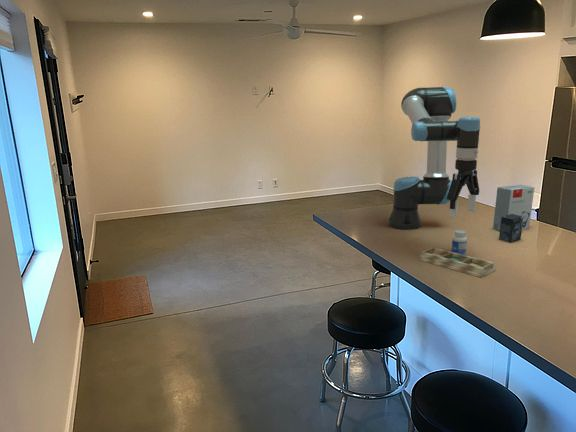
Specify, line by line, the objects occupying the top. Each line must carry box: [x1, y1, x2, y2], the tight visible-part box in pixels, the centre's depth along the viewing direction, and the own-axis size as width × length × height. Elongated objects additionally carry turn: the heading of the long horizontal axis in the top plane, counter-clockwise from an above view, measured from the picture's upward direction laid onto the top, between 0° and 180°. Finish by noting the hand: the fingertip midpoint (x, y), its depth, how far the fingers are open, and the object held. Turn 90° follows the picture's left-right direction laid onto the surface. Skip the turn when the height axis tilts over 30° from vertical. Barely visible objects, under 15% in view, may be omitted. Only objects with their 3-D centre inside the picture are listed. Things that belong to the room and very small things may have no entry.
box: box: [498, 214, 523, 243], centre depth 202 cm, size 8×6×11 cm
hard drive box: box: [492, 184, 535, 232], centre depth 216 cm, size 16×8×20 cm, turn 114°
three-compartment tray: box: [418, 246, 496, 278], centre depth 174 cm, size 25×10×3 cm, turn 41°
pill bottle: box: [451, 229, 468, 256], centre depth 184 cm, size 6×5×10 cm
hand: (462, 214), depth 181 cm, fingers open, 13 cm apart
